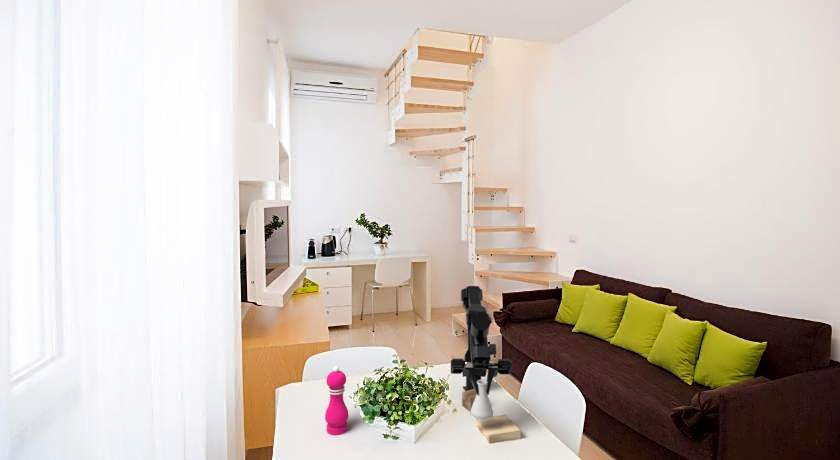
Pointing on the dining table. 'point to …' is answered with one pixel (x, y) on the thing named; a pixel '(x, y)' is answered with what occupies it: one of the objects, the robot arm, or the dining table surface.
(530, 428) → the dining table surface
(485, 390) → the flask
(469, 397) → the walnut cube
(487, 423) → the oak block
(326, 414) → the pepper mill
